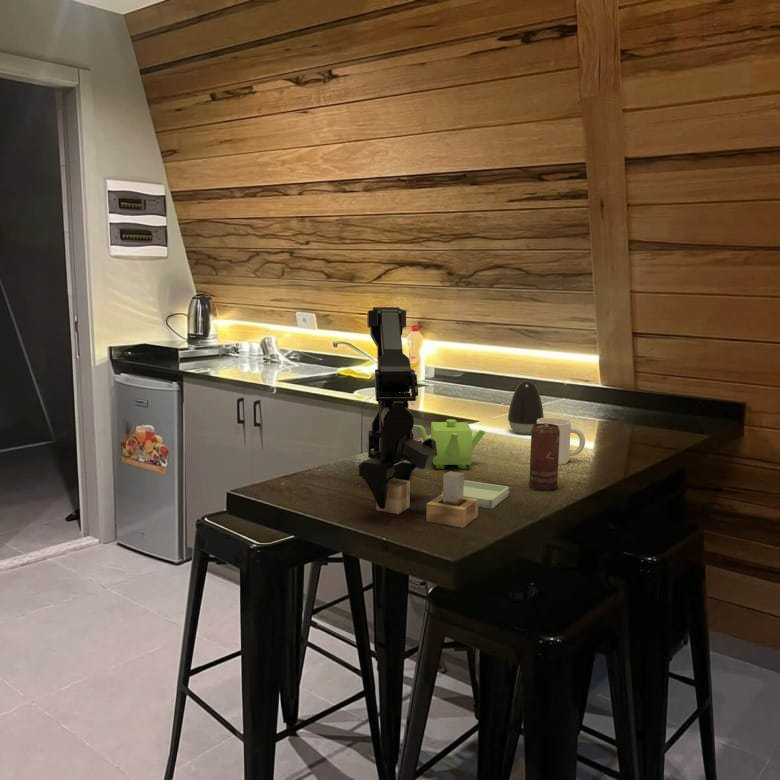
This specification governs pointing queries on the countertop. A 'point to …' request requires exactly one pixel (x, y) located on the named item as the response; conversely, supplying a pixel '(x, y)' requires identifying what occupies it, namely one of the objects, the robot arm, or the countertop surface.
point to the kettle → (452, 442)
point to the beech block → (397, 496)
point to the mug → (565, 438)
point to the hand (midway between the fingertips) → (393, 502)
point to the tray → (485, 493)
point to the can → (544, 456)
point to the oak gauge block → (452, 512)
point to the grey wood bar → (453, 488)
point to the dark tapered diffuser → (525, 408)
